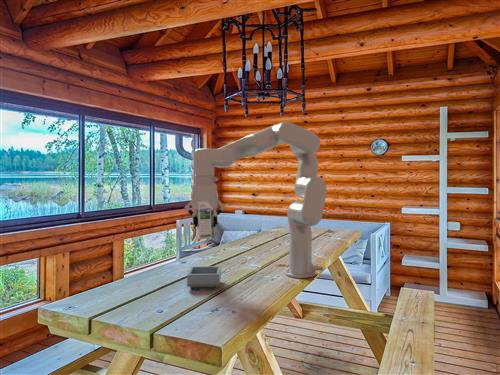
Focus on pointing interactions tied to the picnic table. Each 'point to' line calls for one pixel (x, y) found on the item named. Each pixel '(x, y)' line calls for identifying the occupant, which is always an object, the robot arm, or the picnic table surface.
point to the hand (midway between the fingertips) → (205, 226)
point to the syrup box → (205, 221)
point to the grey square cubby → (204, 276)
